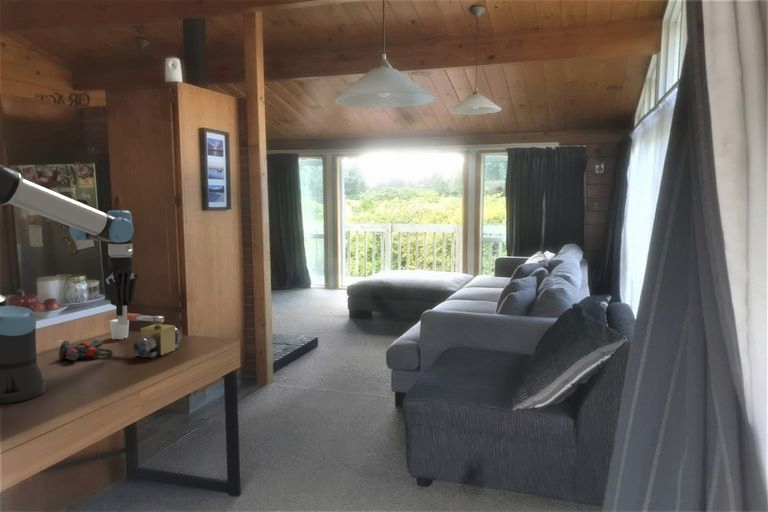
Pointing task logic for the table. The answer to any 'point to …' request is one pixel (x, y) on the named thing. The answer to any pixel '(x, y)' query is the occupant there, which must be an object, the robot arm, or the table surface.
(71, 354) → the valve
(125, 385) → the table surface
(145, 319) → the lever
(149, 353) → the pipe valve
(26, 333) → the robot arm
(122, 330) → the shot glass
